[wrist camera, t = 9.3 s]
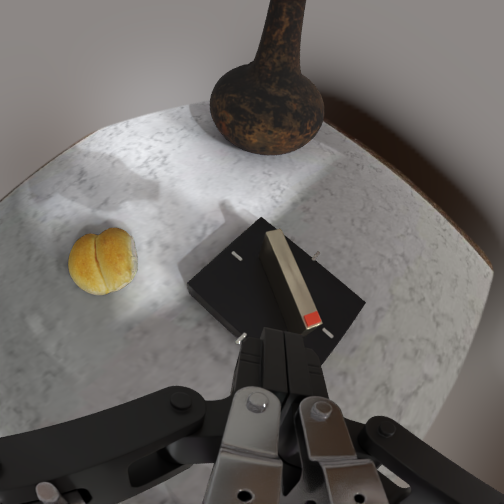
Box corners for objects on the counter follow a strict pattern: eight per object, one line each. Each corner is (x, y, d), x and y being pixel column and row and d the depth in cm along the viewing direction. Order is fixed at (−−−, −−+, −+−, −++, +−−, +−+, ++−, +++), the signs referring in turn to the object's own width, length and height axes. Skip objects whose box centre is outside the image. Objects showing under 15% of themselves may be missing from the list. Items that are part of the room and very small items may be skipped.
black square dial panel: (181, 299, 32) (179, 289, 29) (263, 224, 38) (267, 210, 35) (290, 395, 28) (298, 395, 26) (359, 304, 34) (371, 295, 32)
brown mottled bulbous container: (299, 110, 52) (335, -17, 28) (324, 174, 44) (392, 12, 20) (208, 107, 49) (217, -34, 25) (210, 173, 41) (222, -22, 17)
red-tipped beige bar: (258, 255, 32) (266, 230, 28) (271, 252, 33) (281, 226, 28) (292, 340, 28) (307, 328, 24) (306, 335, 29) (323, 322, 24)
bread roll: (73, 245, 33) (62, 228, 30) (135, 231, 35) (128, 212, 32) (74, 303, 30) (60, 291, 26) (142, 290, 32) (134, 276, 28)
